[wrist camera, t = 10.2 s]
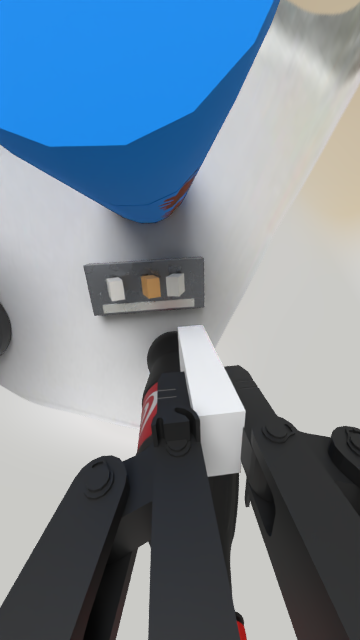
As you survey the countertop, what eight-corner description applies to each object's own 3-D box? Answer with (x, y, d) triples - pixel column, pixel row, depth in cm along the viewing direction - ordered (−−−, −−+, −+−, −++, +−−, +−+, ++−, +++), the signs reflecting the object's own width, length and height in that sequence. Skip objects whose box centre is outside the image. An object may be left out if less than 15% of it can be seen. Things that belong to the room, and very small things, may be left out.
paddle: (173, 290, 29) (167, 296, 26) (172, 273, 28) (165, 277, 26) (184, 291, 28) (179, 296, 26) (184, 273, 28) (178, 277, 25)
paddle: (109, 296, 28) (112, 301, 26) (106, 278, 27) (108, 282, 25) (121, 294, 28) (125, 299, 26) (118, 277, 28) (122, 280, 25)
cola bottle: (138, 354, 35) (52, 776, 8) (167, 317, 33) (196, 705, 6) (178, 377, 38) (222, 763, 10) (207, 343, 36) (367, 711, 8)
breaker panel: (99, 310, 32) (93, 316, 29) (89, 263, 30) (82, 266, 27) (201, 302, 33) (204, 308, 30) (200, 256, 30) (204, 258, 28)
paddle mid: (142, 294, 28) (148, 298, 26) (140, 276, 27) (146, 279, 25) (154, 292, 29) (160, 296, 26) (152, 274, 28) (159, 277, 25)
